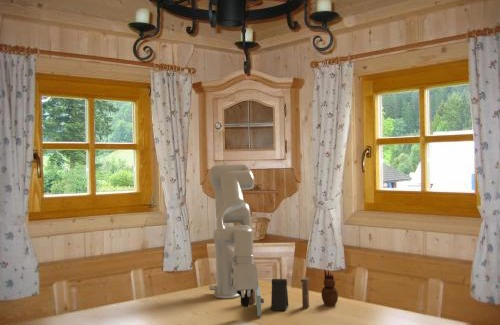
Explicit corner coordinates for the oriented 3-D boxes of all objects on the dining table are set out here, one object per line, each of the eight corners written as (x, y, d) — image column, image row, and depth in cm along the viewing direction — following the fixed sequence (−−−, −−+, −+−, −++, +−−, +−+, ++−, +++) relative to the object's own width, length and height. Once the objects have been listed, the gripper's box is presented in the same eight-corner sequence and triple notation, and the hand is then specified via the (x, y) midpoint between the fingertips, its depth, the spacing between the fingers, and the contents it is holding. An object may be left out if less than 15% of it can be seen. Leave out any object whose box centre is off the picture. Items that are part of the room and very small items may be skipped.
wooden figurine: (319, 305, 220) (318, 269, 220) (327, 302, 224) (326, 267, 224) (332, 307, 215) (331, 271, 215) (340, 304, 219) (339, 269, 219)
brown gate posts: (247, 304, 223) (247, 276, 223) (250, 302, 227) (250, 274, 227) (308, 308, 214) (307, 279, 214) (310, 306, 218) (309, 277, 218)
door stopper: (285, 311, 212) (284, 282, 212) (270, 310, 213) (270, 281, 213) (288, 305, 221) (287, 277, 220) (274, 304, 222) (274, 276, 222)
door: (256, 303, 223) (255, 284, 222) (262, 303, 223) (262, 284, 223) (257, 316, 204) (257, 295, 204) (264, 316, 204) (263, 295, 204)
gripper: (229, 263, 198) (230, 311, 198) (265, 259, 203) (266, 306, 203) (222, 260, 205) (223, 306, 205) (257, 256, 210) (259, 301, 210)
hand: (245, 306), depth 204 cm, fingers closed
